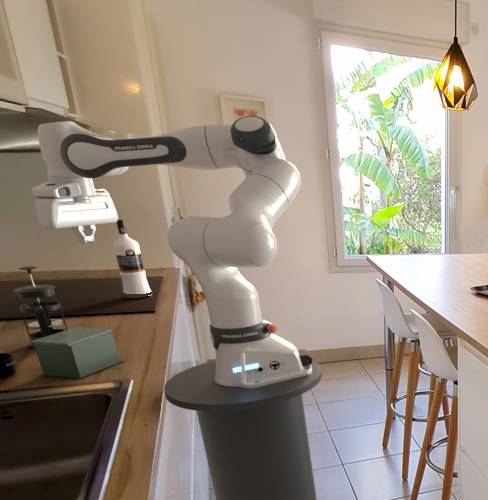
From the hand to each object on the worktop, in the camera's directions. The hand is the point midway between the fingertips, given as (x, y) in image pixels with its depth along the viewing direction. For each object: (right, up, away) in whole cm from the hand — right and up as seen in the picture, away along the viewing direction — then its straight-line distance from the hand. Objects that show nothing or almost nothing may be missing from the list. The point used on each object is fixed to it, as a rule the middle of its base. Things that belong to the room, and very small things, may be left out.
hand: (87, 242), depth 148 cm
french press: (-24, -27, +16) cm, 39 cm away
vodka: (-39, -4, +72) cm, 82 cm away
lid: (0, -26, -5) cm, 26 cm away
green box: (0, -34, -1) cm, 34 cm away
